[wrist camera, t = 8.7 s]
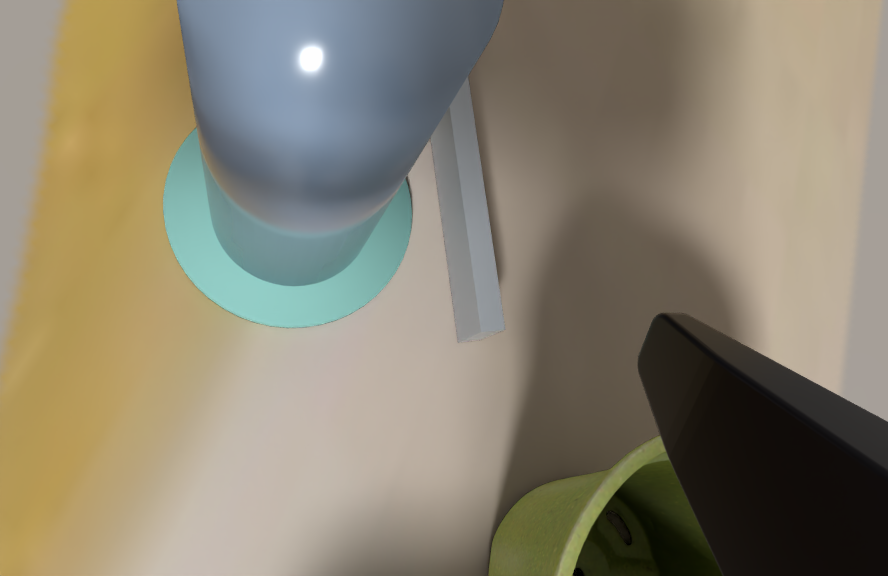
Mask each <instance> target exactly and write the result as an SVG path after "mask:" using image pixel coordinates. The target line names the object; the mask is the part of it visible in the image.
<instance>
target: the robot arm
mask: <svg viewBox="0 0 888 576" xmlns="http://www.w3.org/2000/svg"><path fill="white" fill-rule="evenodd" d="M638 372H639V375H640V378H641V381H642V384H643V387H644V390H645V393H646V396H647V399H648V401H649V404H650V407H651V410H652V413H653V416H654V419H655V422H656V425H657V428H658V431H659V433H660V436H661V439H662V442H663V445H664V448H665V450H666V453H667V456H668V458H669V461H670V463H671V465H672V467H673V470H674V472H675V474H676V476H677V479H678V481H679V483H680V485H681V487H682V489H683V491H684V494H685V496H686V498H687V500H688V502H689V504H690V506H691V509H692V511H693V513H694V515H695V517H696V519H697V521H698V524H699V526H700V528H701V530H702V532H703V534H704V536H705V539H706V541H707V543H708V545H709V547H710V549H711V551H712V554H713V556H714V558H715V560H716V562H717V564H718V566H719V569H720V571H721V573H722V575H723V576H888V422H887V421H885V420H883V419H882V418H880V417H878V416H876V415H874V414H872V413H870V412H868V411H867V410H865V409H863V408H861V407H859V406H857V405H855V404H854V403H852V402H850V401H847V400H846V399H844V398H842V397H840V396H839V395H837V394H835V393H833V392H831V391H829V390H827V389H826V388H824V387H822V386H820V385H818V384H816V383H814V382H812V381H811V380H809V379H807V378H805V377H803V376H801V375H799V374H798V373H796V372H794V371H792V370H790V369H788V368H786V367H784V366H783V365H781V364H779V363H777V362H775V361H773V360H771V359H769V358H768V357H766V356H764V355H762V354H760V353H758V352H756V351H755V350H753V349H751V348H749V347H747V346H745V345H743V344H741V343H740V342H738V341H736V340H734V339H732V338H730V337H728V336H726V335H725V334H723V333H721V332H719V331H717V330H715V329H713V328H712V327H710V326H708V325H706V324H704V323H702V322H700V321H698V320H697V319H695V318H693V317H691V316H689V315H687V314H684V313H660V314H658V315H657V316H656V317H655V318H654V319H653V321H652V323H651V326H650V328H649V331H648V333H647V336H646V338H645V341H644V343H643V346H642V348H641V351H640V353H639V356H638Z"/></svg>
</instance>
